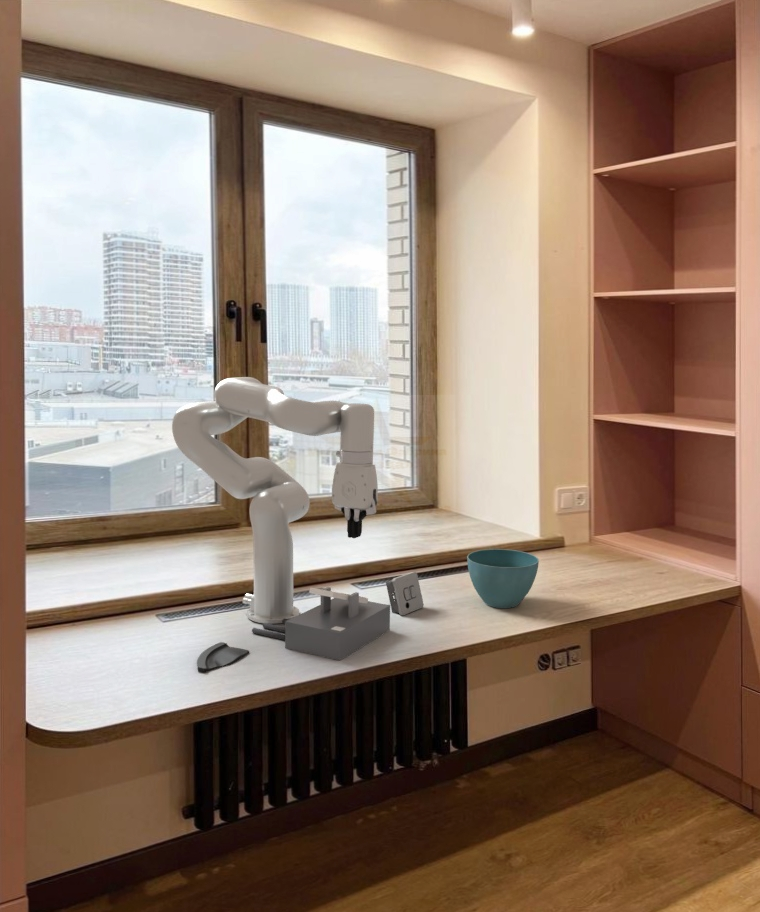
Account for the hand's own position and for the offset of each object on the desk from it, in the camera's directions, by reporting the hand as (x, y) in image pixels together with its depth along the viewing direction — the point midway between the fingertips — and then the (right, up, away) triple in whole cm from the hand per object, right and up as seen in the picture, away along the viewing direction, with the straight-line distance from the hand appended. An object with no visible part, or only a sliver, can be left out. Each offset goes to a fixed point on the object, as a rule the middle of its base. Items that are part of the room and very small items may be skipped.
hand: (354, 536), depth 188 cm
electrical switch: (+12, -20, +17) cm, 29 cm away
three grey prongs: (-16, -22, 0) cm, 27 cm away
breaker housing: (-3, -23, -4) cm, 23 cm away
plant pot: (+37, -20, +24) cm, 48 cm away
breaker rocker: (-3, -13, -5) cm, 14 cm away
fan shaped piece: (-28, -25, -16) cm, 41 cm away
